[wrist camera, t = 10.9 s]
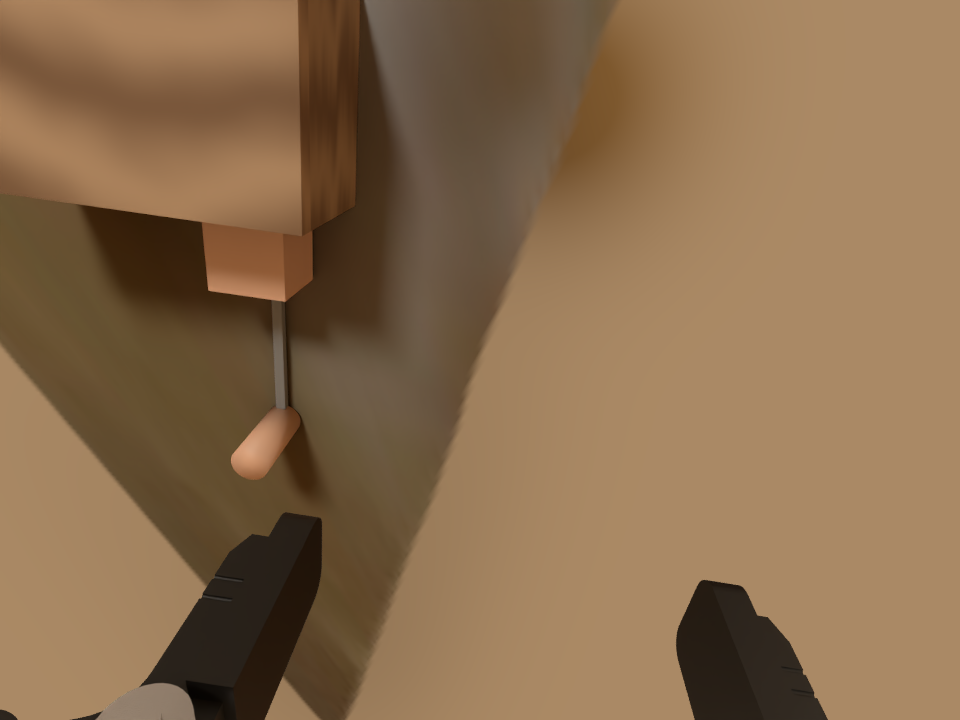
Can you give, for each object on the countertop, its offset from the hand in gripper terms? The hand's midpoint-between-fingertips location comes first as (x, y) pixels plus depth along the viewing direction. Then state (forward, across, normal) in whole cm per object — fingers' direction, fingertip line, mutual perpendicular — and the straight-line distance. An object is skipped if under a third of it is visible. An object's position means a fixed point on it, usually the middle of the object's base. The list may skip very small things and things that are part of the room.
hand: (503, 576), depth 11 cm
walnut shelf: (+27, +21, -7) cm, 35 cm away
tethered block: (+27, +16, +8) cm, 32 cm away
